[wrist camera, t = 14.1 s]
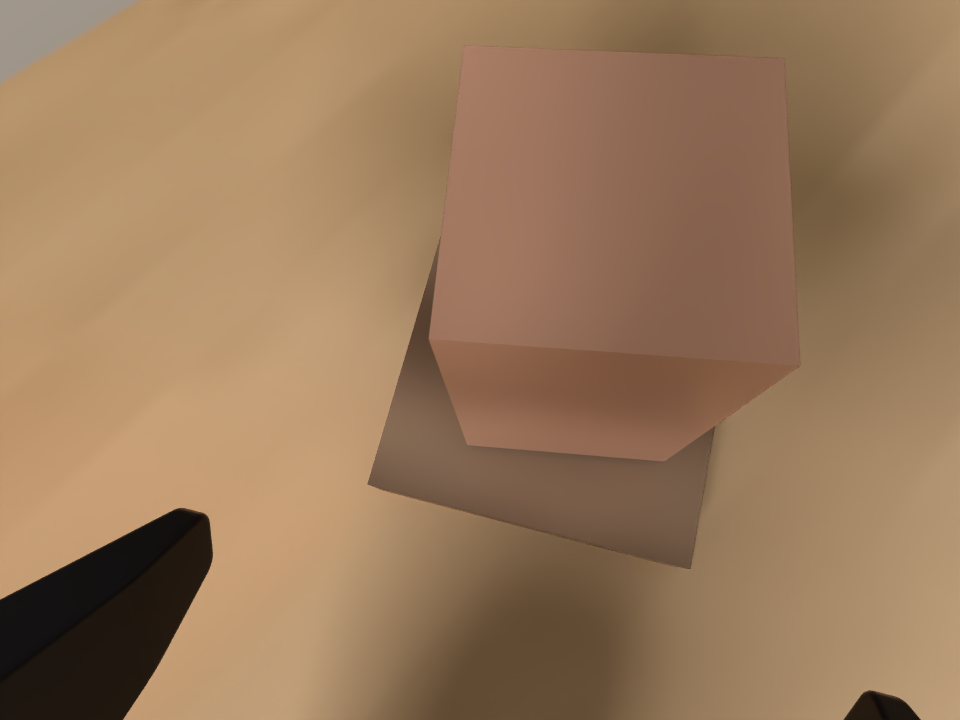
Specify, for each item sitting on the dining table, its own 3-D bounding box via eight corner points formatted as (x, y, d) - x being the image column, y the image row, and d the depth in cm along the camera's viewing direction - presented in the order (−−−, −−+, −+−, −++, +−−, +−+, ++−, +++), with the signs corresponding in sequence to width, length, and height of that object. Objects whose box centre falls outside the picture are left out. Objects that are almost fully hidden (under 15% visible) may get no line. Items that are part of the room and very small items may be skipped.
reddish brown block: (664, 461, 20) (800, 365, 11) (467, 445, 21) (428, 339, 11) (665, 280, 22) (784, 57, 12) (484, 268, 22) (463, 45, 13)
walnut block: (668, 565, 22) (690, 569, 20) (385, 491, 24) (367, 484, 21) (716, 294, 25) (742, 261, 22) (458, 239, 26) (450, 201, 23)
